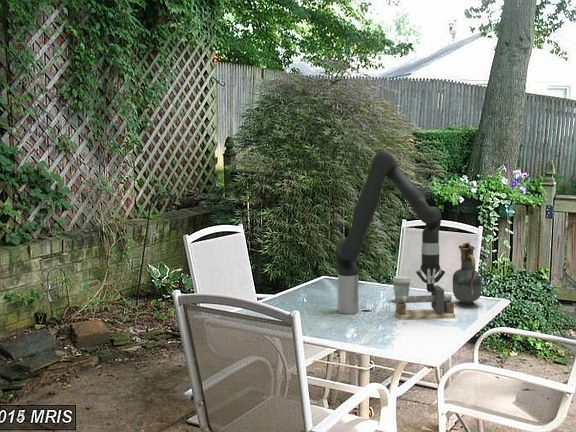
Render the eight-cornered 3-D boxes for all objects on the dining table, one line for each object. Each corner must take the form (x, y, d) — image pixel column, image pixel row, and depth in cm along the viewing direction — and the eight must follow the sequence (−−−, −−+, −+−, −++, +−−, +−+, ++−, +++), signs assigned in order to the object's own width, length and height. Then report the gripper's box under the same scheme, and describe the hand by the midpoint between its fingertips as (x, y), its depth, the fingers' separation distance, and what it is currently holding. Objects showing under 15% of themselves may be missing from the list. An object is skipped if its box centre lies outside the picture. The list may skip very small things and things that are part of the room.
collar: (437, 312, 265) (437, 289, 264) (431, 307, 274) (431, 285, 273) (444, 312, 265) (444, 289, 264) (438, 306, 274) (438, 285, 273)
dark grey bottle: (473, 300, 295) (473, 238, 292) (485, 310, 276) (486, 244, 273) (450, 300, 295) (450, 239, 293) (461, 310, 277) (461, 244, 274)
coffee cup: (389, 301, 296) (388, 277, 295) (400, 298, 302) (400, 274, 301) (403, 304, 290) (403, 279, 289) (414, 301, 296) (414, 277, 294)
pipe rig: (400, 319, 264) (400, 298, 263) (395, 313, 274) (394, 293, 273) (455, 317, 265) (455, 297, 264) (448, 312, 275) (448, 292, 274)
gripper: (417, 254, 263) (417, 294, 264) (448, 253, 263) (447, 293, 265) (413, 251, 270) (413, 290, 272) (442, 251, 271) (442, 289, 272)
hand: (430, 291), depth 268 cm, fingers closed
